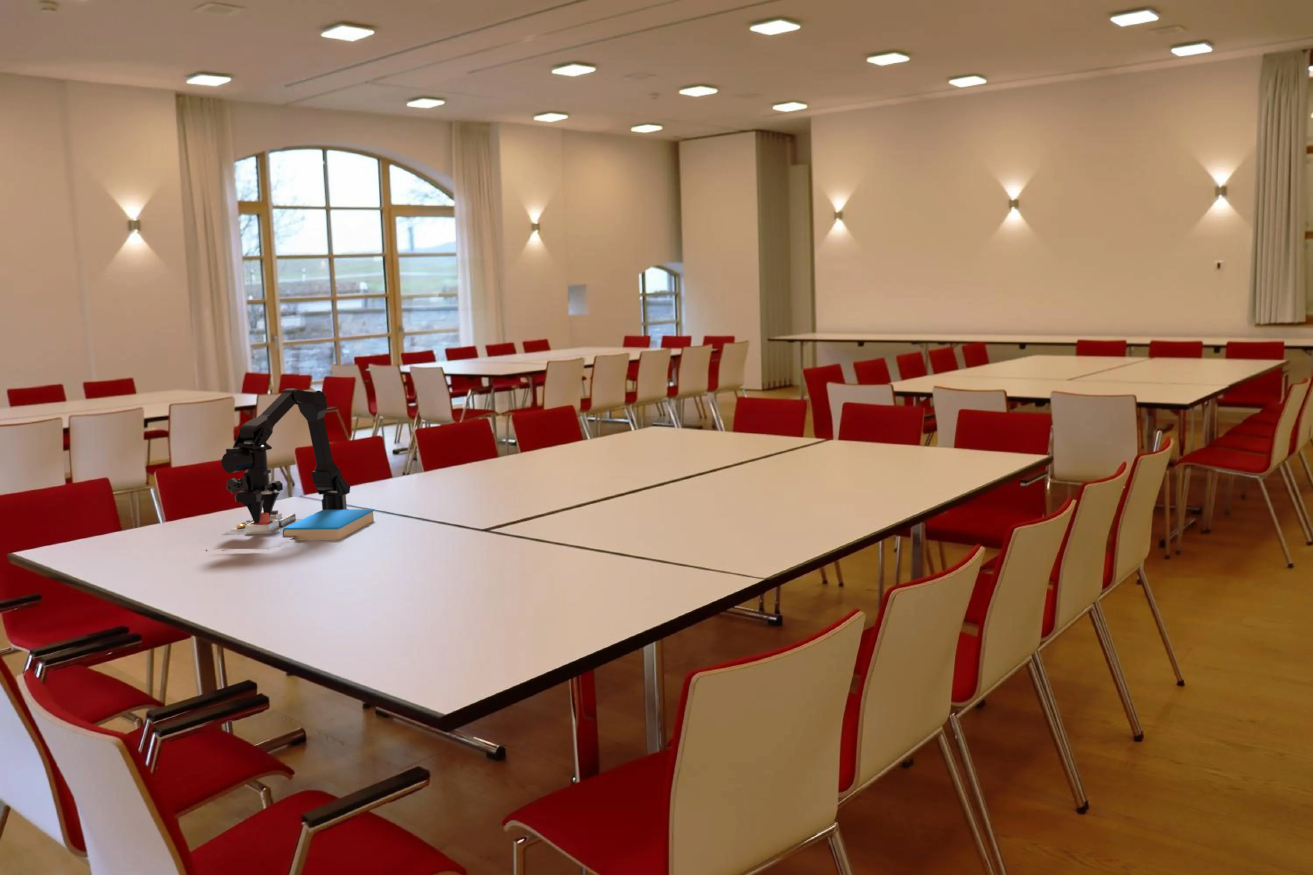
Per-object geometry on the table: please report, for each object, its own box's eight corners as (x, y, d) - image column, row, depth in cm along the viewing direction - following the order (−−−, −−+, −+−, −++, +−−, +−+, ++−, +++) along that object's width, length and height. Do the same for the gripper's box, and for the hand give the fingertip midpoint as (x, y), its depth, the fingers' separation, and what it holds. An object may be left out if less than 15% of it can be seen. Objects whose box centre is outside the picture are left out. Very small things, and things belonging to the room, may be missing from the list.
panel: (303, 522, 327) (302, 510, 326) (275, 537, 307) (274, 525, 307) (252, 523, 328) (251, 511, 328) (221, 538, 308) (220, 526, 308)
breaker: (282, 524, 320) (281, 509, 319) (276, 527, 316) (275, 512, 315) (267, 524, 320) (266, 509, 319) (262, 527, 316) (260, 512, 315)
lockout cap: (272, 529, 313) (271, 512, 313) (266, 532, 309) (265, 515, 309) (259, 529, 314) (257, 512, 313) (253, 532, 310) (251, 515, 309)
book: (374, 509, 326) (339, 526, 301) (375, 523, 326) (340, 541, 302) (320, 509, 328) (281, 526, 304) (321, 523, 329) (282, 541, 304)
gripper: (244, 462, 319) (249, 514, 321) (214, 473, 300) (219, 528, 302) (281, 461, 318) (285, 513, 320) (253, 472, 299) (258, 527, 302)
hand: (262, 520), depth 311 cm, fingers open, 7 cm apart
